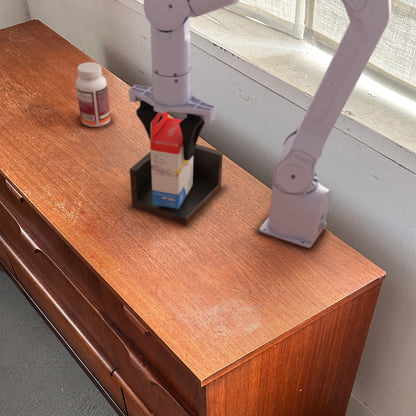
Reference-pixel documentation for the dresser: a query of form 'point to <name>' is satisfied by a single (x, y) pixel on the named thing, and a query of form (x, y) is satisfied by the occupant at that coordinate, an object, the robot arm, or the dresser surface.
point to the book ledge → (198, 194)
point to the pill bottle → (92, 95)
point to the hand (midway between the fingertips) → (172, 152)
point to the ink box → (169, 163)
